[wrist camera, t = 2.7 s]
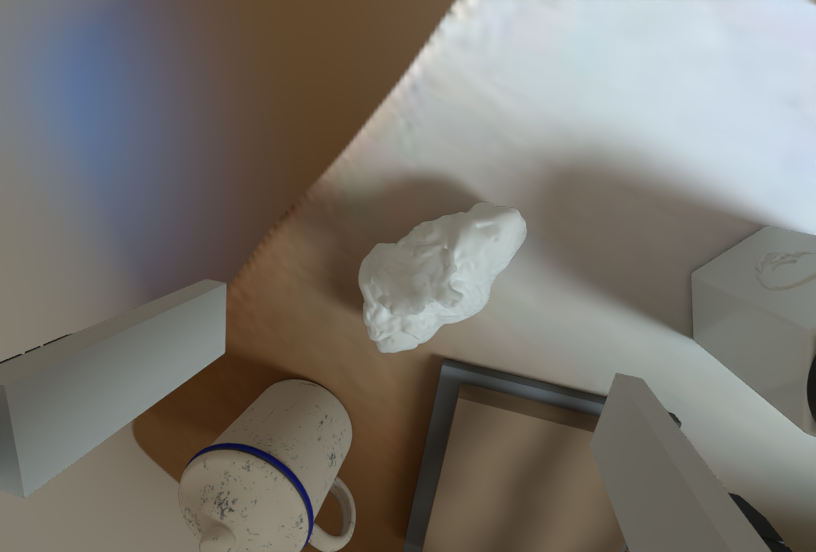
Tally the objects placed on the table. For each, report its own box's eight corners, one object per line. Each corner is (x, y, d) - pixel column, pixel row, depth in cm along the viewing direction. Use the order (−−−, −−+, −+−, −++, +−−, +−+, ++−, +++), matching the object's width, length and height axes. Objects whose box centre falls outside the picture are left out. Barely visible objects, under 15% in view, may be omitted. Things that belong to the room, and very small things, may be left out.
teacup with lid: (237, 418, 34) (116, 538, 23) (294, 353, 31) (187, 454, 20) (339, 507, 34) (269, 667, 23) (405, 451, 31) (360, 604, 20)
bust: (504, 195, 27) (407, 106, 18) (582, 271, 23) (503, 202, 14) (393, 309, 31) (269, 280, 22) (442, 391, 27) (312, 396, 18)
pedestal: (674, 414, 26) (697, 444, 23) (594, 599, 32) (605, 641, 29) (443, 358, 29) (439, 379, 26) (404, 539, 34) (397, 573, 31)
